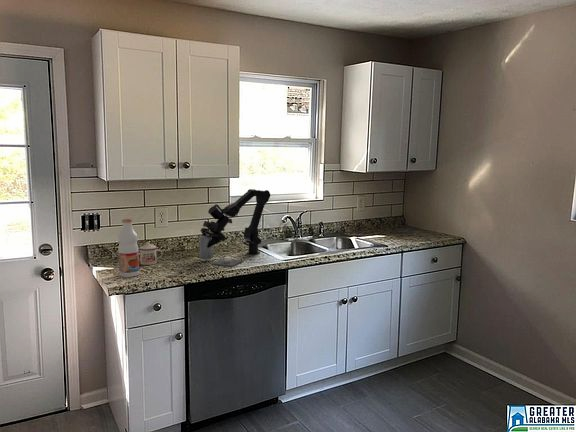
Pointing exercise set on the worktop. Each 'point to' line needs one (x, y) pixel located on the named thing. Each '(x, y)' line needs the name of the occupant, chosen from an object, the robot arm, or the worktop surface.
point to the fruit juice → (128, 250)
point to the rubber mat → (227, 262)
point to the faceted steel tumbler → (205, 247)
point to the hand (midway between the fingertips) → (203, 246)
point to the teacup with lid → (149, 254)
